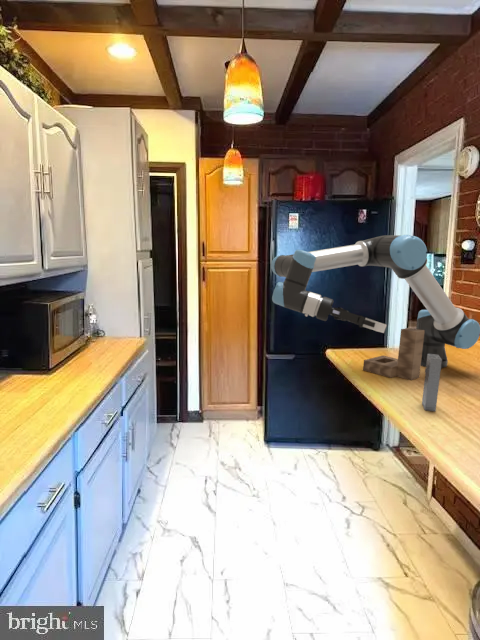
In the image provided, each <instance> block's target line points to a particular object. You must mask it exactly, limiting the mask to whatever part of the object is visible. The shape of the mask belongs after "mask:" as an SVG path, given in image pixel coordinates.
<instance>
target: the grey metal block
mask: <svg viewBox="0 0 480 640" xmlns="http://www.w3.org/2000/svg"><path fill="white" fill-rule="evenodd" d="M441 362H442V359H441V358H440V356H439V355H437V354H427V363H426V367H425V369H424V373H425V374H424V381H423V393H422V399H421V405H422V407H423V409H424V411H428V412H436V411H437V403H438V395H439V385H440V378H441V370H442V368H441Z"/></svg>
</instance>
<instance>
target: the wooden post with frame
mask: <svg viewBox="0 0 480 640" xmlns="http://www.w3.org/2000/svg"><path fill="white" fill-rule="evenodd" d="M424 332H425V330H419V329H416V328H414V327H406V328H401V329H400V334H399V335H400V337H399V346H398V356H397V358H396V357H392V356H388V355H380V356H376V357H371V358H367V359H364V360H363V366H362V371H365V372H368V373H372V374H376V375H379V376H383V377H386V378H395V377H397V378H398V377H399V378H401V379H405V380H409V381H413V380H416V379H419V378H420V375H421V367H422V366H421V358H422V349H423V341H424Z"/></svg>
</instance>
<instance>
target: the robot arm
mask: <svg viewBox="0 0 480 640" xmlns="http://www.w3.org/2000/svg"><path fill="white" fill-rule="evenodd" d="M427 253H428V249H427V246H426V244H425V242H424V241H423V240H422V238H420V237H418V236H415V235H411V234H410V235H409V234H402V235H401V234H400V235H398V234H397V235H396V234H395V235H393V234H392V235H391V234H390V235H388V234H387V235H380V236H376V237H372V238H368V239H365V240H363V239H362V240H358V241H356V242H355V244H350V245H349V244H348V245H344V246H336V247H332V248H331V247H330V248H325V249H318V250H312V251H306V250H303V249H296V250H295V251H294V253H293V254H288V255H284V254H281V255H277V256H275V257H274V258H273V259H272V260H271V263H270V269H271V271H272V273H273V274H274V275H276V276H279V277H281V278H285V279H284V281H278V282H277V283H276V285H275V288H274V289H273V293H272V297H271V300H272V302H273V304H275V305H277V306H278V305H279V306H280V307H283V308H286V309H289V310H292V311H294V312H298V313H300V314H304V316H305V317H308V316H310V317H312V318H314V317H315V318H316V319H318V320H321V321H324V322H326V321H327V320H328V318H329V315H330V316H332V317H333V319H334V320H338V321H343V322H346V321H347V322H349V323H351V324H354V325H357V326H358V327H359V328H361V329H362V328H366V329H369V330H373V331H375V332H378V333H382V334H385V331H386V328H387V324H386V323H383V322H379V321H376V320H374V319H371V318H368V317H365V316H363V315H360V314H359V315H358V314H355V313H351V312H350V311H349V310H348V309H344V308H342V307H340V306H337V307H333V304H334V299H333V298H330V297H327V296H323V297H322V295H321V294H319V293H315V292H312V291H308V290H306V289H307V286H308V283H309V281H310V278H311V275H312V273H316V272H320V271H321V272H322V271H327V270H332V269H338V268H344V267H351V266H356V265H358V266H359V267H367V266H372V267H373V266H374V267H382V268H390V269H391V270H392V271H393V272H394V273H395V275H396V276H397V278H398V279H401V280H405V281H406V283H407V284H408V285H409V287H410V288H411V289H412V291H413V293H414V294H415V295H416V297H417V298H418V299H419V301H420V303H422V305H423V307H425V309H421V310H419V311H418V314H417V319H416V327H415V329H419V330H425V332H424V341H423V349H422V358H421V367H425V368H426V363H427V354H437V355H439V356H440V358H441V359H442V362H441V369H443V368H446V367H447V366H448V361H449V360H448V356H447V353H446V352H447V351H446V347H445V346H446V345H448V346H451V347H455V348H456V349H462V350H466V349H468V350H469V349H470V348H472V347H474V345H475V344H477V342H478V340H479V337H480V323H479V322H478V321H477V320H475V319H474V318H469V317H468V316H467V314H466V313H465V312H464V310H462V308H460V307H455V306H456V305H454V304H453V302H452V301H451V299H450V297H449V296H448V295H447V293H446V292H445V290H444V289H443V288H442V286H441V285H440V283H439V282H438V281H437V279H436V278H435V276H434V275H433V273H432V271H430V269H429V268H428V266H427V264H428V254H427Z"/></svg>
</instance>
